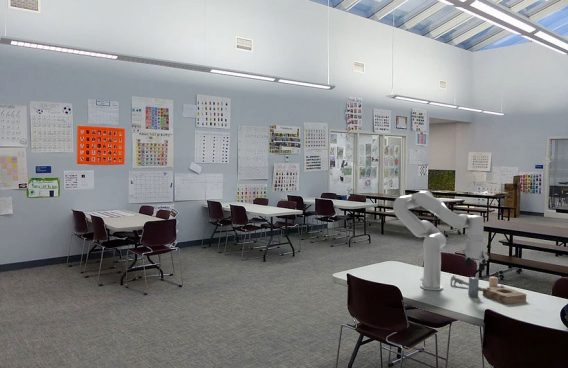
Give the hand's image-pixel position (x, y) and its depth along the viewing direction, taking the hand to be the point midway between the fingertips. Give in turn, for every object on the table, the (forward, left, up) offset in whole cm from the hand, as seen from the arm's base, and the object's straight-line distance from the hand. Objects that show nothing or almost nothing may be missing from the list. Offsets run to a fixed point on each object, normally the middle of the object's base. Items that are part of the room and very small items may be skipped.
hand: (475, 268), depth 241 cm
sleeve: (0, 0, -16) cm, 16 cm away
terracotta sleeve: (-3, +18, -16) cm, 24 cm away
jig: (+9, +13, -16) cm, 22 cm away
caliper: (-13, +9, -16) cm, 23 cm away
